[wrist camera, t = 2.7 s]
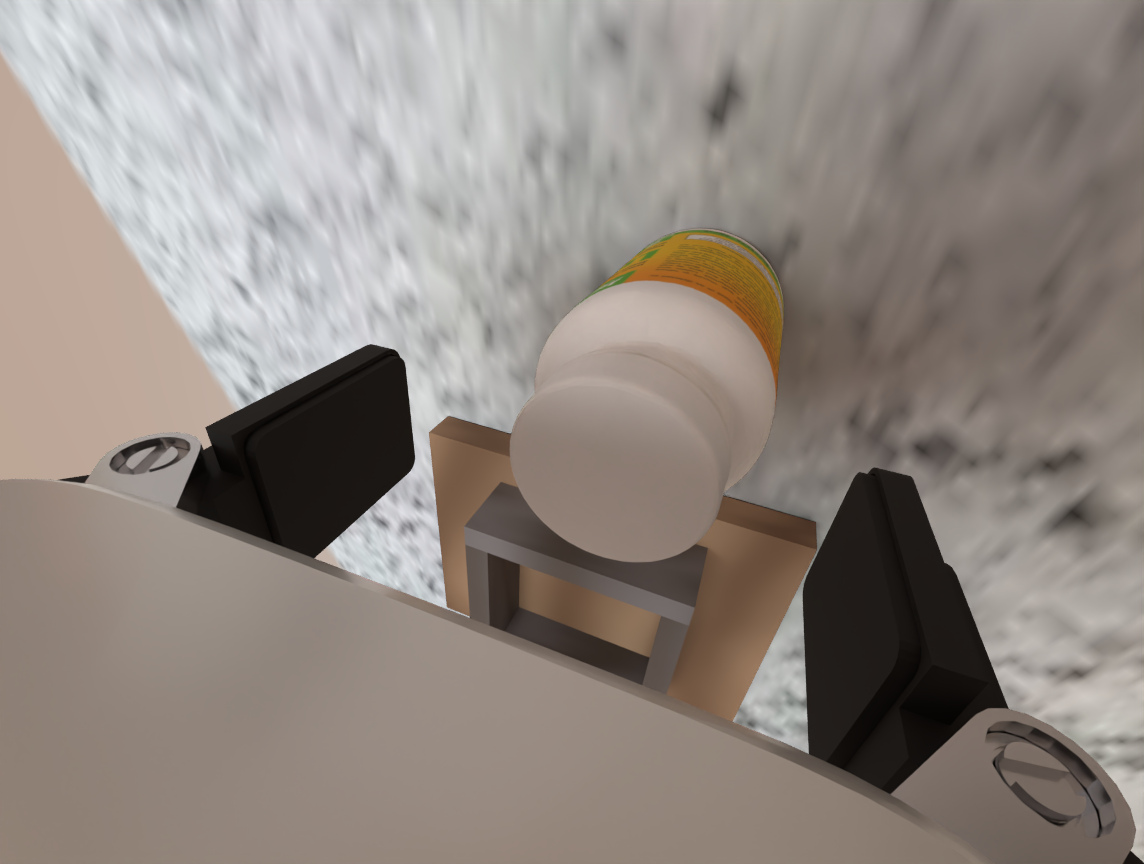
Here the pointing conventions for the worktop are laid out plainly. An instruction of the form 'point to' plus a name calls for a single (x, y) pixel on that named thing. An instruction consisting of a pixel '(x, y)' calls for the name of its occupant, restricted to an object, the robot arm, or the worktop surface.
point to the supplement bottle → (653, 398)
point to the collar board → (615, 580)
